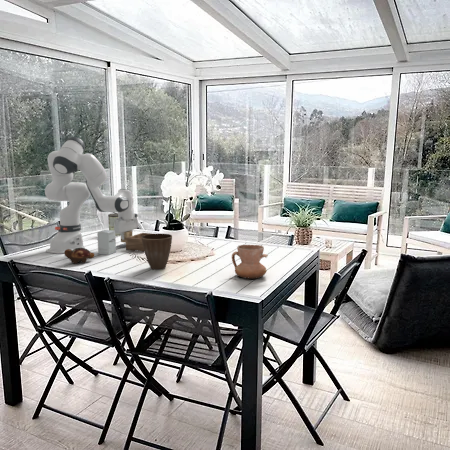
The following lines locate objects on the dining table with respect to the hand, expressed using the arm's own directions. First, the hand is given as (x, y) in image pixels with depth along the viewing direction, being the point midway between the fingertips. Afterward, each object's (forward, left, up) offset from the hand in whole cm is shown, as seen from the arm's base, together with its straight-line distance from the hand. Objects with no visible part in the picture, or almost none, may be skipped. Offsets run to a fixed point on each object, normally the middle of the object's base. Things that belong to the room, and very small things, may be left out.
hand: (126, 238), depth 273 cm
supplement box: (-20, -1, -5) cm, 21 cm away
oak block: (0, 0, -2) cm, 2 cm away
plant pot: (-37, -44, -5) cm, 57 cm away
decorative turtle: (-43, -1, -5) cm, 43 cm away
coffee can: (+28, +27, -5) cm, 40 cm away
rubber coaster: (0, 0, -5) cm, 5 cm away
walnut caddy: (0, -13, -5) cm, 13 cm away
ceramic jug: (-34, -91, -5) cm, 97 cm away
